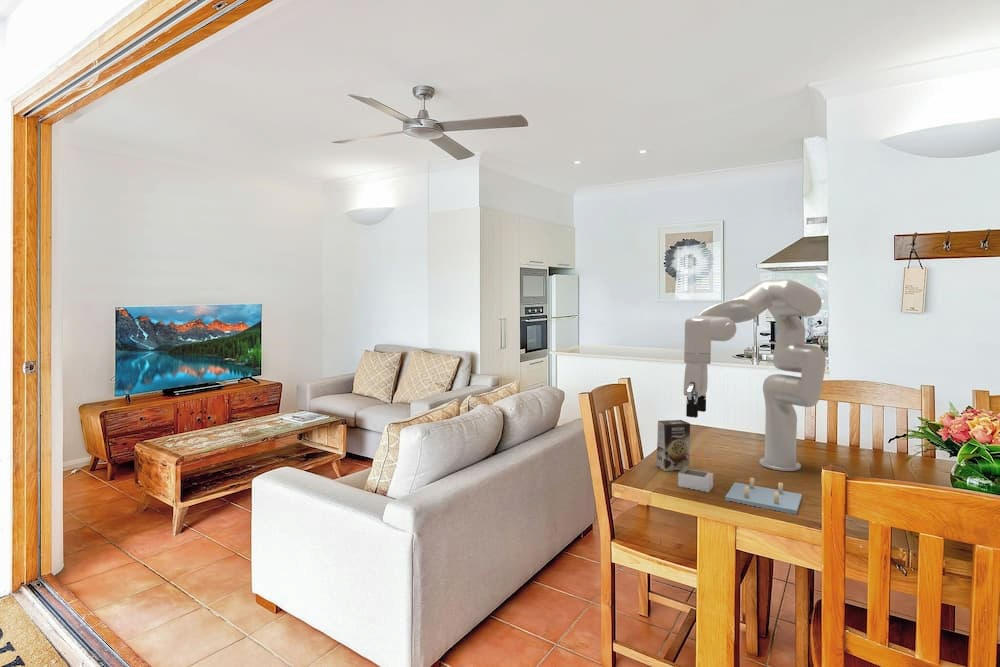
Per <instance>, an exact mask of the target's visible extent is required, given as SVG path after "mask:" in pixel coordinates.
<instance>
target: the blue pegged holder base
mask: <svg viewBox="0 0 1000 667" xmlns="http://www.w3.org/2000/svg"><path fill="white" fill-rule="evenodd" d="M777 485H778V486H777V489H775V488H770V487H763V486H759V485H755V478H754V477H749V484H746V483H742V482H734V483H733V484H732V486H731V487H730V489H729V490H728V492H727V494H726V495H725V496H724V501H725V500H726V501H725V502H729V501H733V502H732V503H734V502H737V503H736V504H739V503H743V504H742V505H744V504H747V505H746V506H749V505H751V506H750V507H754V506H756V508H759V507H761V508H760V509H764V508H766V510H769V509H771V511H774V510H776V511H775V512H779V511H780V513H784V512H785V513H786V514H790V515H796V516H797V515H798V512H799V509H800V506H799V505H801V502H802V499H803V498H802V497H803V494H802V493H798V492H791V491H787V490H784V483H783V482H778V484H777ZM785 513H784V514H785Z"/></svg>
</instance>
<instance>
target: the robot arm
mask: <svg viewBox="0 0 1000 667" xmlns="http://www.w3.org/2000/svg"><path fill="white" fill-rule="evenodd" d="M822 306H823V305H822V298H821V296H820V295H819V294H818V292H817V291H815V290H813V289H812V288H809V287H807V286H806V285H804V284H802V283H799V282H797V281H795V280H793V279H792V280H791V279H769V280H768V279H766V280H762V281H759V282H757V283H756V284H754V285H753V286H751V287H750V288H748V289H747V290H746V291H744V292H743V293H741V294H739V295H738V296H736V297H734V298H731V299H729V300H726V301H723V302H720V303H717V304H714V305H711V306H709V307H707V308H705V309H704V310H702V311H700V312H699V313H698V314H696V315H695V316H694V317H689V318H687V319H686V320H685V321H684V346H683V347H684V351H683V354H684V355H683V357H684V358H683V359H684V360H683V363H684V364H685V368H684V369H685V370H684V377H683V378H684V379H683V380H684V381H683V395H684V397H686V407H685V408H686V410H685V414H686V417H687V418H696V419H697V418H698V416H699V415H698V414H699V412H701V413H702V412H703V413H704V412H706V411H707V395H706V394H707V391H708V381H709V380H708V378H709V377H708V365H711V360H712V359H711V357H712V356H711V355H712V354H711V352H712V341H713V342H727V341H730V340H731V339H733V338H734V337H735V335H736V333H737V325H736V324H739V323H740V324H741V323H744V322H748V321H751V320H754V319H755V318H757V317H758V316H759V315H760V314H763V312H765V311H766V310H768V312H769V313H770V314H771V316H772V317H773V319H774V322H775V324H776V327H777V330H776V331H777V332H776V338H775V345H774V350H773V356H772V364H773V366H774V367H775V368H776V369H777V370H779V371H780V370H781V371H785V372H790V373H799V374H800V376H795V375H789V374H783V373H781V374H780V373H775V374H771V375H768V376H767V377H766V378H765V379H764V381H763V384H762V392H763V393H762V394H763V398H764V403H765V425H764V426H765V427H764V428H765V429H764V431H765V433H764V457H761V458H759V464H760V465H761V466H762V467H764V468H767V469H771V470H775V471H781V472H795V471H800V470H801V469H802V465H801V463H800V462H798V461H797V433H798V432H797V431H798V430H797V429H798V426H797V425H798V417H797V416H798V415H797V412H796V410H795V407H794V406H797V407H804V408H812V407H814V406H815V405H817V404H818V402H819V400H820V397H821V395H822V390H823V389H822V388H823V383H824V378H825V372H826V365H827V360H826V354H825V352H824V350H823V349H822V348H821V347H819V346H816V345H812V344H805V342H806V341H805V340H806V334H807V333H806V327H805V324H804V323H803V321H802V320H801V319H800V317H805V318H808V317H810V318H811V317H814V316H816V315H818V313H820V311H821V309H822Z"/></svg>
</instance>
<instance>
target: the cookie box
mask: <svg viewBox="0 0 1000 667" xmlns="http://www.w3.org/2000/svg"><path fill="white" fill-rule="evenodd" d="M690 445H691V423H689V422H687V421H686V420H683V419H672V420H671V419H668V420H667V419H666V420H657V444H656V447H657V448H656V451H657V452H656V466H657V467H658V466H659V467H660V468H659V467H658V468H659V469H661V470H662V469H663V470H662V471H663V472H673V470H679V471H681V470H682V469H683V468H685V469H690V453H691V452H690V450H691V446H690Z"/></svg>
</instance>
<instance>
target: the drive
mask: <svg viewBox="0 0 1000 667" xmlns="http://www.w3.org/2000/svg"><path fill="white" fill-rule="evenodd" d="M677 475H678V476H677V480H678V481H677V486H679V488H683V487H684V488H683V489H688V488H690V490H693V489H695V490H694V491H698V490H700V492H704V491H705V493H709V492H710V491H712V489H713V487H714V473H713V472H708V471H701V470H696V469H690V468H689V469H685V468H683V469H682V470H679V472H678V474H677Z"/></svg>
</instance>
